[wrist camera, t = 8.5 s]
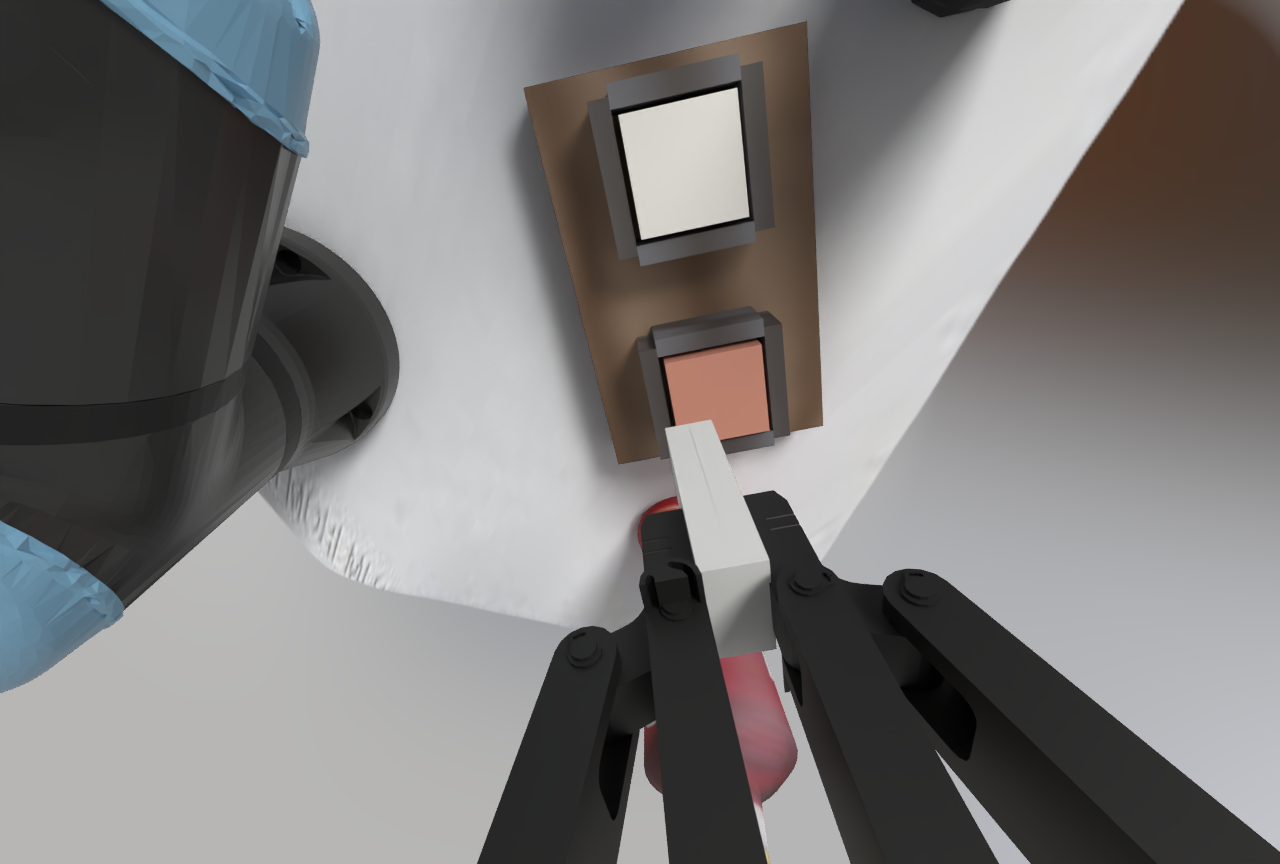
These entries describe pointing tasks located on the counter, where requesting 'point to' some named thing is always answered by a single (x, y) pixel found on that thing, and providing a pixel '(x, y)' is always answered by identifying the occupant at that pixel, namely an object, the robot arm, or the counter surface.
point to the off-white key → (686, 163)
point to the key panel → (690, 235)
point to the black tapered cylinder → (954, 5)
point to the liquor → (743, 720)
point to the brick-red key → (720, 388)
